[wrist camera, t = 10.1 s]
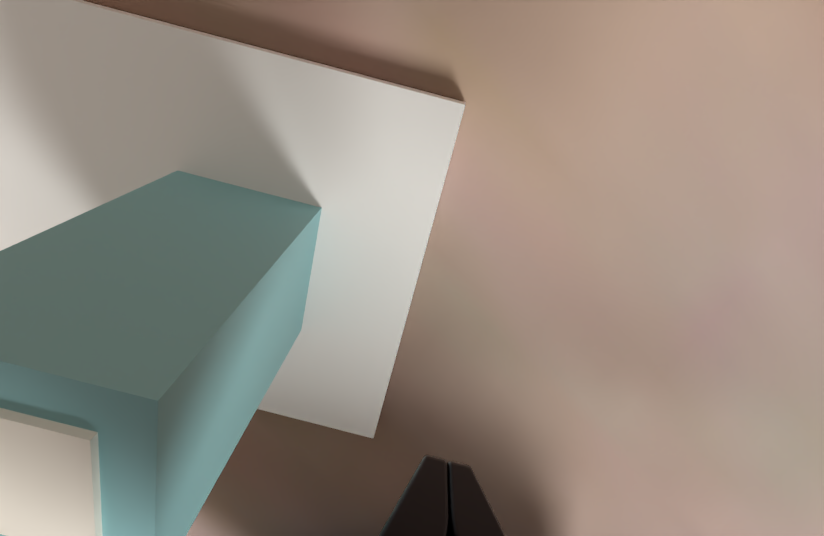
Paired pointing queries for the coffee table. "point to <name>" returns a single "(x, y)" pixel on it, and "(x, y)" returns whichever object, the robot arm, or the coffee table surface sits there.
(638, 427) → the coffee table surface
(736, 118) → the coffee table surface
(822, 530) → the coffee table surface
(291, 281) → the block
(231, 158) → the mat
